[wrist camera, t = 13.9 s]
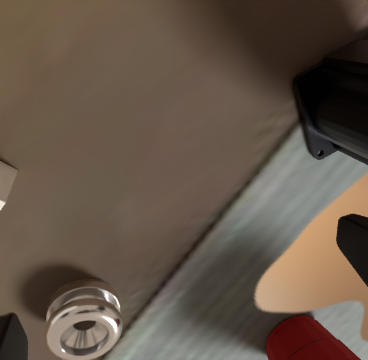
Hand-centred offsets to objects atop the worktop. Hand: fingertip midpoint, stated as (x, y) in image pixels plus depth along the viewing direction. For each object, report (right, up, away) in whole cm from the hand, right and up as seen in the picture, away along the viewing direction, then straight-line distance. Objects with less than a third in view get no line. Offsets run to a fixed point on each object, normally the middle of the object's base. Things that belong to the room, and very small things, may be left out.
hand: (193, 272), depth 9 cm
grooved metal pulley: (-8, -7, +16) cm, 19 cm away
